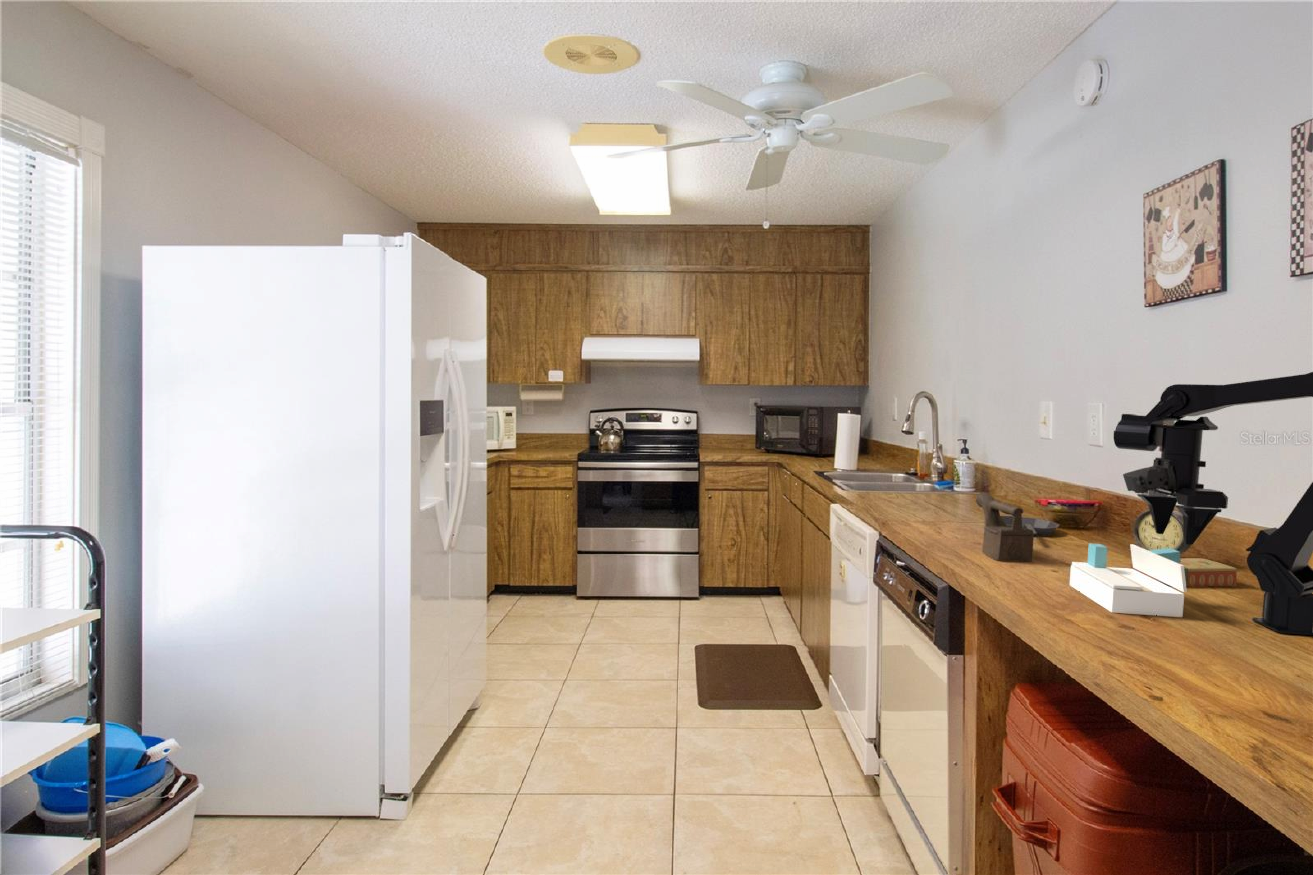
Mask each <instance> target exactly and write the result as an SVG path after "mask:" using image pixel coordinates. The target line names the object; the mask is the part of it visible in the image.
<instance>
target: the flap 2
mask: <svg viewBox="0 0 1313 875" xmlns="http://www.w3.org/2000/svg"><path fill="white" fill-rule="evenodd" d="M1129 546H1130V547H1129V548H1130V555H1131V562H1132V564H1133V568H1135V569H1137V570H1139V571H1141V572H1143V573H1145V574H1147V575H1149V576H1152V577H1154V578H1156V579H1158V580H1160V581H1162V582H1164V583H1166V584H1168V585H1170V586H1169V587H1171V588H1173V589H1175V590H1176V589H1177V591H1179V592H1181V593H1187V592H1188V590H1187V587H1186V580H1185V572H1184V566H1183V565H1181V564H1178V563H1181V560H1180V558H1181V554H1180V552H1179V551H1176V550H1174V549H1171V548H1165V549H1156V550H1145V549H1143V548H1141V547H1140V546H1139V545H1135V544H1133V543H1132V544H1131V543H1130V545H1129Z"/></svg>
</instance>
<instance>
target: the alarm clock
mask: <svg viewBox="0 0 1313 875" xmlns="http://www.w3.org/2000/svg"><path fill="white" fill-rule="evenodd" d="M1173 497H1174V496H1173ZM1133 536H1134V539H1135V542H1136V544H1137V546H1138V547H1141V548H1143V549H1145V550H1156V549H1165V548H1171V549H1174V550H1176V551H1179V552H1180V555H1182V554H1185V553H1186V552H1187V551H1188V550H1189V549H1190V548H1191V547H1192V545H1187V544H1185V541H1184V528H1183V514H1182V513H1181V512H1180V511H1179V510H1176V509H1174V510H1173V513H1172V515H1171V518H1170V520H1169V523H1168V525H1167V527H1166V529H1165V531H1164V533H1163V534H1157V533H1156V531H1155V527H1154V523H1153V520H1152V516H1151V512H1150V509H1149V508H1148V509H1146V510H1145V511H1143V512H1142V513H1140V514H1139V515H1138V517H1137V518H1136V519H1135V522H1134V524H1133Z"/></svg>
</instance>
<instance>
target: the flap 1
mask: <svg viewBox="0 0 1313 875" xmlns="http://www.w3.org/2000/svg"><path fill="white" fill-rule="evenodd" d="M1087 548H1088V550H1087V562H1084V561H1083V562H1080V561H1071V565H1074V566H1076V567H1077V568H1079V569H1081V570H1083V571H1084V572H1086V573H1088V574H1090V575H1091V576H1093V577H1095V578H1097V579H1098V580H1100V581H1102V582H1104V583H1105V584H1107V585H1109V586H1111V587H1112V588H1118V589H1133V590H1142V588H1143V587H1141V586H1139V585H1137V584H1136V583H1134V582H1132V581H1130V580H1128V579H1126V578H1124V577H1122V576H1120V575H1118V574H1116V573H1115V572H1113V571H1111V570H1109V569H1107V568H1106V567H1107V557H1108V546H1106V545H1104V544H1101V543H1092V542H1091V543H1088V547H1087Z"/></svg>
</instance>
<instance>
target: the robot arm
mask: <svg viewBox="0 0 1313 875" xmlns="http://www.w3.org/2000/svg"><path fill="white" fill-rule="evenodd" d="M1305 398H1313V371H1311V372H1309V373H1304V374H1297V375H1288V376H1281V377H1274V378H1267V379H1258V380H1250V381H1243V382H1237V383H1230V384H1229V383H1228V384H1192V383H1191V384H1188V383H1186V384H1184V383H1182V384H1181V383H1178V384H1172V385H1170V386H1168V387H1166V388H1165V389H1164V390H1163V392H1162V393H1161V395H1160V400H1159V401H1158V402H1157V403H1156V404H1155V406H1153V408H1151V410H1150V411H1149V412H1148V413H1147V414H1146V415H1139V414H1136V413H1135V414H1134V413H1122V414H1121V417H1120V418H1121V419H1120V420H1119V421H1118V423H1117V425H1116V427H1115V429H1114V430H1113V442H1114V445H1115V447H1116V448H1117V449H1121V450H1133V451H1144V452H1154V451H1156V450H1157V449H1158V447H1161V450H1160V451H1161V452H1160V457H1155V458H1153V463H1152V464H1153V465H1152V466H1149V467H1143V468H1139V469H1136V470H1132V471H1128V472H1125V473H1123V474H1122V477H1123V479H1124V483H1125V485H1126V488H1127V491H1129V492H1134V493H1135V494H1136V496H1138V498H1140V499H1141V500H1143V501H1144V502H1145V503H1146V504H1147V506H1148V510H1149V509H1150V512H1151V516H1152V520H1153V523H1154V527H1155V531H1156V533H1157V534H1163V533H1164V531H1165V529H1166V527H1167V525H1168V523H1169V520H1170V518H1171V515H1172V513H1173V510H1175V508H1176V509H1177V511H1178V512H1180V513H1182V514H1183V528H1184V541H1185V544H1187V545H1191V546H1193V545H1194V543H1195V542H1196V541H1197V539H1198V538H1199V537H1200V535H1201V534H1202V532H1203V531H1204V530H1205V528H1206V527H1207V526H1208V525H1209V523H1211V521H1213V519H1214V518H1215V517H1216V516H1217V514H1218V513H1222V510H1223V509H1225V510H1226V509H1228V504H1229V503H1228V502H1229V497H1228V496H1227V495H1226V493H1225V492H1224V491H1220V490H1216V489H1211V488H1204V487H1205V485H1204V484H1203V483H1199V480H1200V477H1199V476H1200V468H1206V466H1207V465H1206V464H1207V461H1205V460H1201V455H1202V443H1203V433H1204V431H1217V430H1218V429H1219V427H1218V426H1217V425H1216V424H1215V423H1213V421H1211V420H1210V419H1209V417H1208V416H1203V415H1206V414H1209V413H1213V412H1217V411H1220V410H1223V409H1226V408H1230V407H1233V406H1234V407H1235V406H1241V405H1242V406H1243V405H1250V404H1251V405H1253V404H1260V403H1261V404H1262V403H1269V402H1271V403H1272V402H1279V401H1288V400H1297V399H1305ZM1199 416H1200V417H1199ZM1186 417H1198V418H1197V419H1196V420H1193V419H1184V418H1186ZM1171 421H1172V422H1174V423H1173V424H1164V422H1171ZM1173 496H1174V497H1173ZM1177 504H1178V505H1177ZM1256 534H1257V535H1256V537H1255V539H1254V542H1253V543H1252V544H1251V545H1250V546H1249V547H1247V548H1245V552H1249V553H1248V554H1247V558H1246V564H1247V567H1248V569H1249V570H1250V572H1251V573H1252V575H1254V576H1255V577H1256V579H1257V581H1258V586H1259V588H1260V590H1261V592H1264V594H1263V601H1262V614H1261V617H1251V618H1252V619H1251V620H1252V621H1253V622H1255V623H1257V624H1260V625H1261V626H1263V627H1265V628H1268V629H1270V630H1272V631H1274V632H1276V633H1278V634H1290V635H1291V634H1292V635H1305V636H1313V568H1312V567H1311V566H1310V565H1309V561H1310V560H1311V557H1312V555H1313V481H1312V482H1311V484H1309V486H1308V488H1306V491H1305V492H1304V493H1303V494H1302V496H1301V497H1300V499H1299V500H1298V502H1297V503H1296V505H1295V506H1294V507H1293V509H1292V510H1291V512H1290V513H1289V515H1288V517H1287V518H1286V519H1285V521H1284V522H1283V523H1282V524H1281V525H1280V526H1279V527H1278V528H1277V527H1270V528H1269V527H1268V528H1265V529H1261V530H1259V531H1258V533H1256Z"/></svg>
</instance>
